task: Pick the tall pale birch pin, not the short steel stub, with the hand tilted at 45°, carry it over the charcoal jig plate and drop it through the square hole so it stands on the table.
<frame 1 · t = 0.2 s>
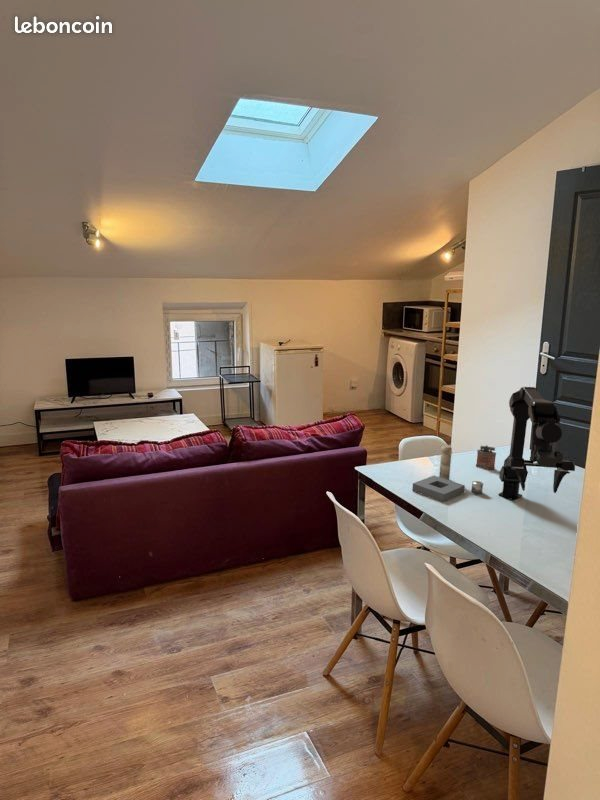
hand: (539, 491, 164), 15 cm above the table, tool pointing down, fingers open, 9 cm apart
jig plate: (438, 491, 203), on the table
birch pin: (444, 479, 216), on the table
steel stub: (476, 492, 203), on the table
lighter: (485, 468, 231), on the table
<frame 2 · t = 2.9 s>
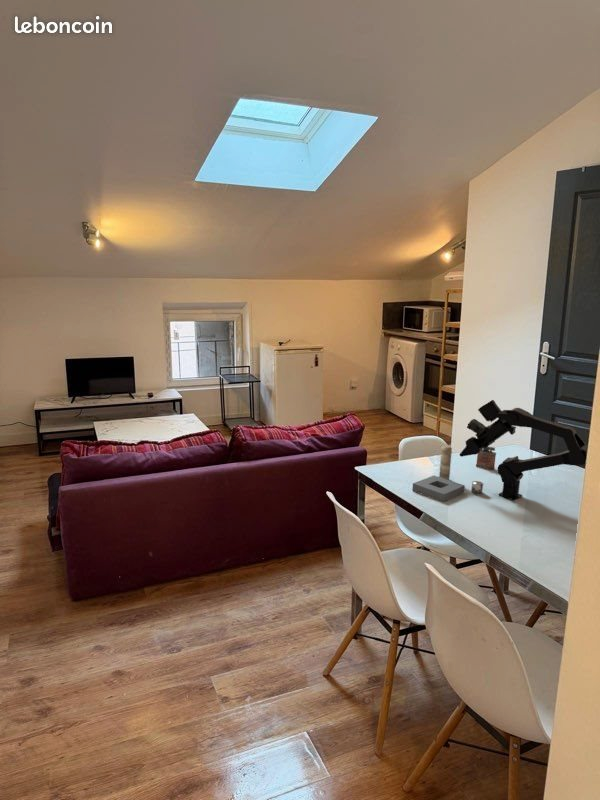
hand: (464, 452, 209), 13 cm above the table, tool tilted 45°, fingers open, 9 cm apart
nothing on the table moved.
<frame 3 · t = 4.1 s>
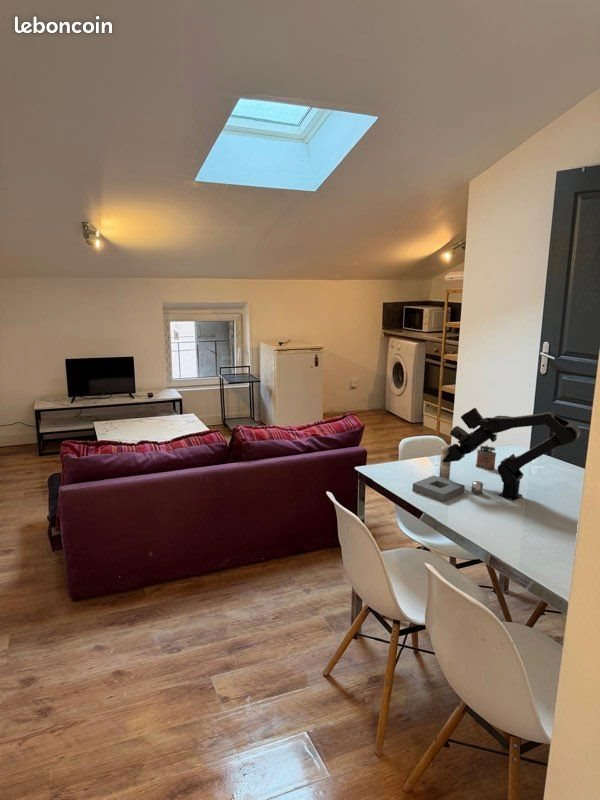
hand: (447, 458, 214), 9 cm above the table, tool tilted 45°, fingers open, 9 cm apart
nothing on the table moved.
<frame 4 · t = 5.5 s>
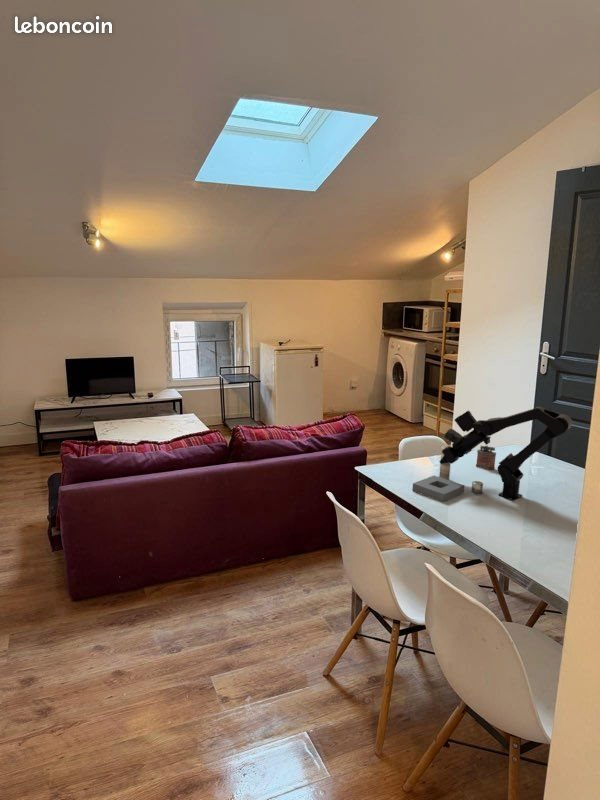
hand: (442, 461, 215), 8 cm above the table, tool tilted 45°, fingers closed on birch pin, 4 cm apart
birch pin: (444, 479, 216), on the table, touching gripper
everything else where it was.
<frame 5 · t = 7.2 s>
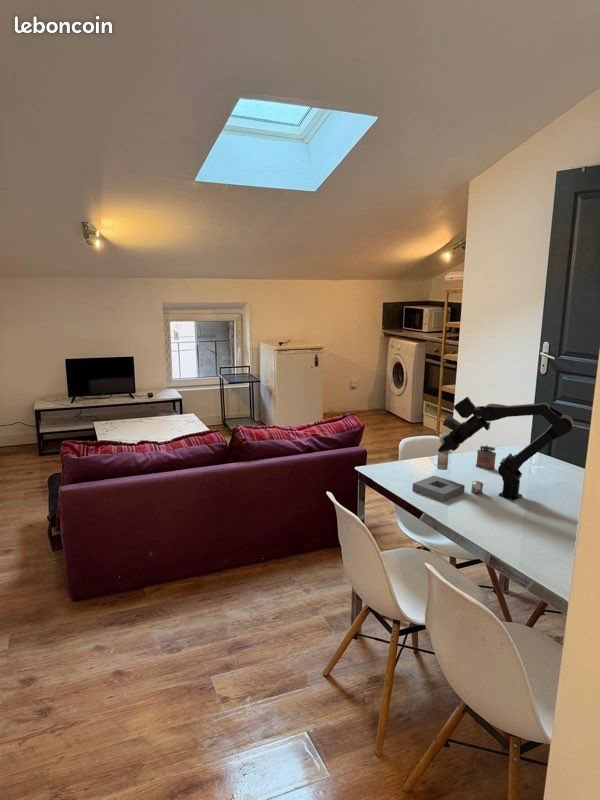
hand: (440, 449, 211), 14 cm above the table, tool tilted 45°, fingers closed on birch pin, 4 cm apart
birch pin: (442, 468, 212), point 6 cm above the table, touching gripper
everything else where it was.
when the fingers open (10 cm above the table, at t = 9.2 s): birch pin drops 2 cm, resting in jig plate.
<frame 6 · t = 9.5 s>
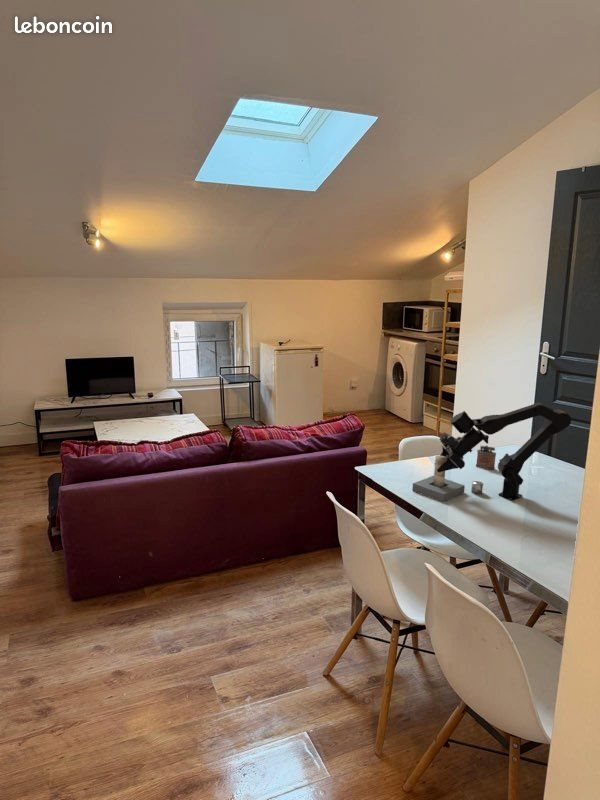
hand: (436, 468, 201), 10 cm above the table, tool tilted 45°, fingers open, 7 cm apart
birch pin: (438, 491, 203), resting in jig plate
everything else where it was.
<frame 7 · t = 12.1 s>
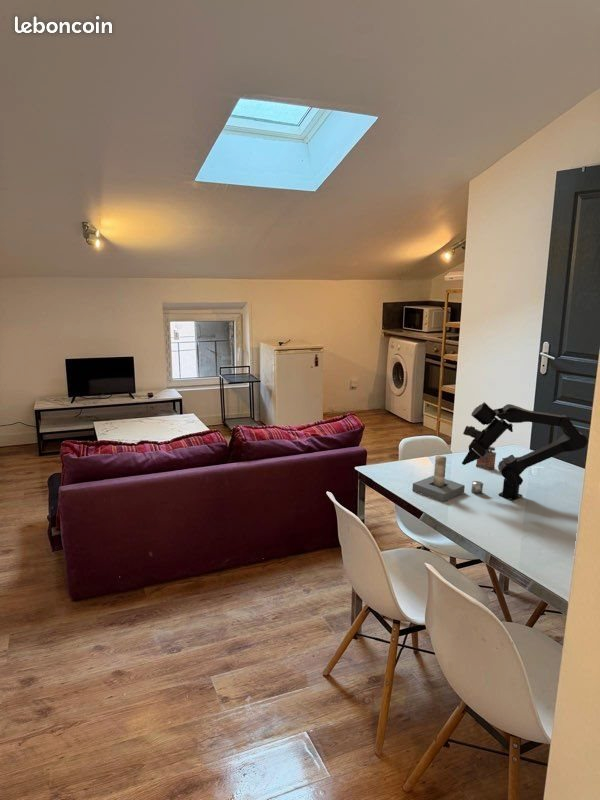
hand: (463, 462, 200), 12 cm above the table, tool tilted 35°, fingers open, 9 cm apart
nothing on the table moved.
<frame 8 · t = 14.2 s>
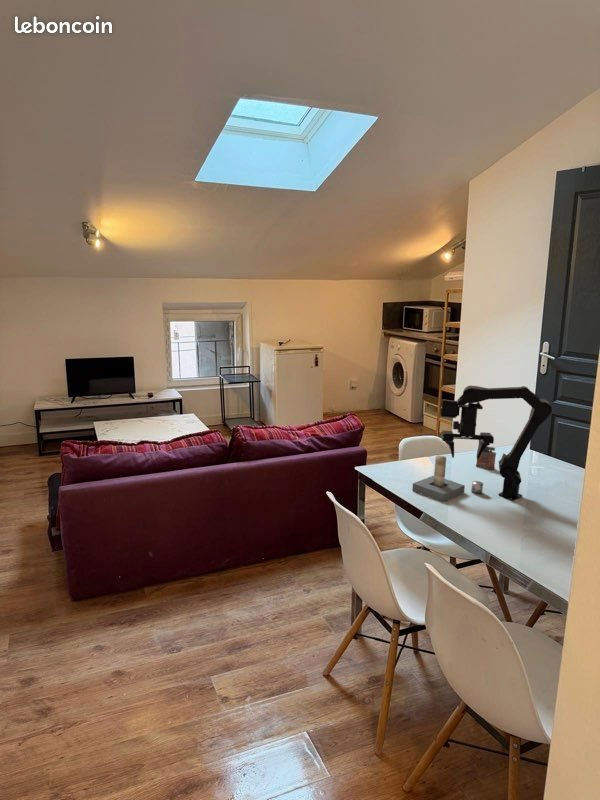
hand: (465, 458, 203), 13 cm above the table, tool pointing down, fingers open, 9 cm apart
nothing on the table moved.
at the end: birch pin 0.0 cm off-centre on the jig plate, point 0.0 cm above the jig plate's base; birch pin tilted 0°; steel stub moved 0.1 cm from its start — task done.
